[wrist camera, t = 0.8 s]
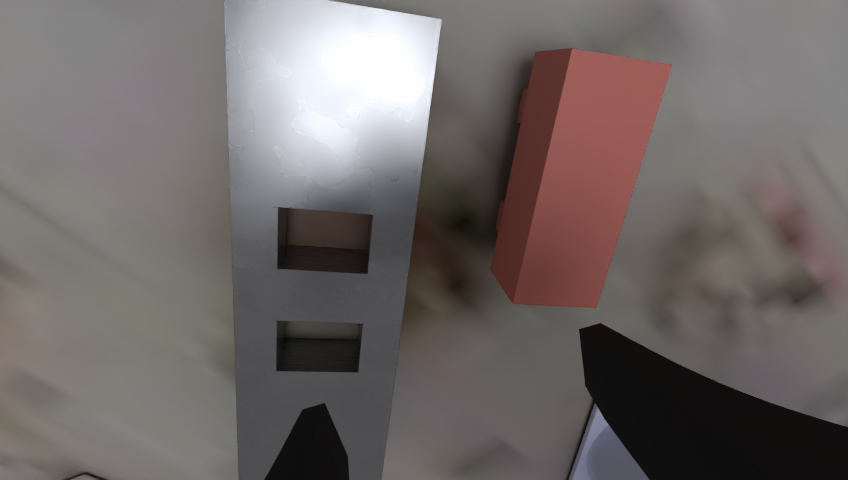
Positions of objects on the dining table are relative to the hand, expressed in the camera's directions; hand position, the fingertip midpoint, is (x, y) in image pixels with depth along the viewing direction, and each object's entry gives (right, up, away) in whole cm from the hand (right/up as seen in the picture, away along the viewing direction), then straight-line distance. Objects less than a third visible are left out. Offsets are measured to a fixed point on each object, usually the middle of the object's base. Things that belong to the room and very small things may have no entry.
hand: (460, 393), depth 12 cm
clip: (+4, +8, +8) cm, 12 cm away
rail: (-6, +3, +8) cm, 11 cm away
